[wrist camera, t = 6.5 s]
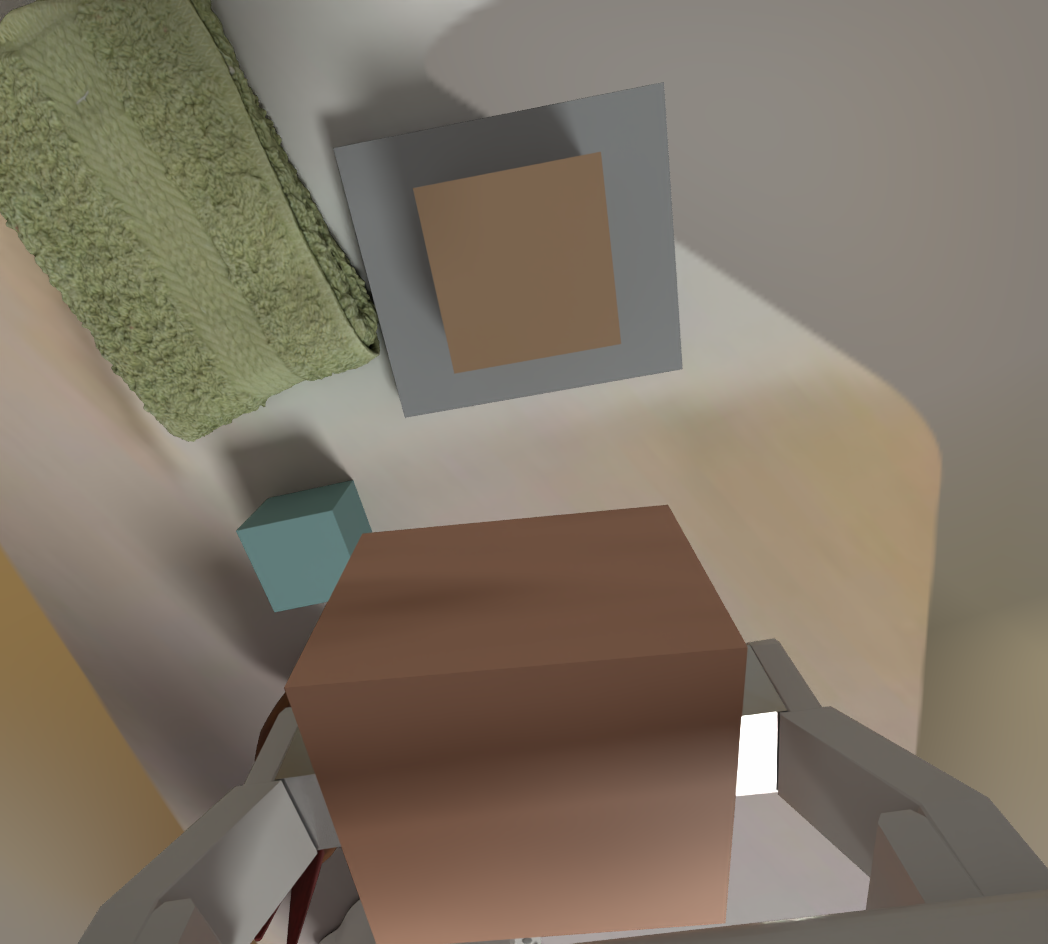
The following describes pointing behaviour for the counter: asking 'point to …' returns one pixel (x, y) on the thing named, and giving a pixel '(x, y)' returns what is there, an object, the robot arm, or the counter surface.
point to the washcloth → (170, 209)
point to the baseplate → (503, 151)
